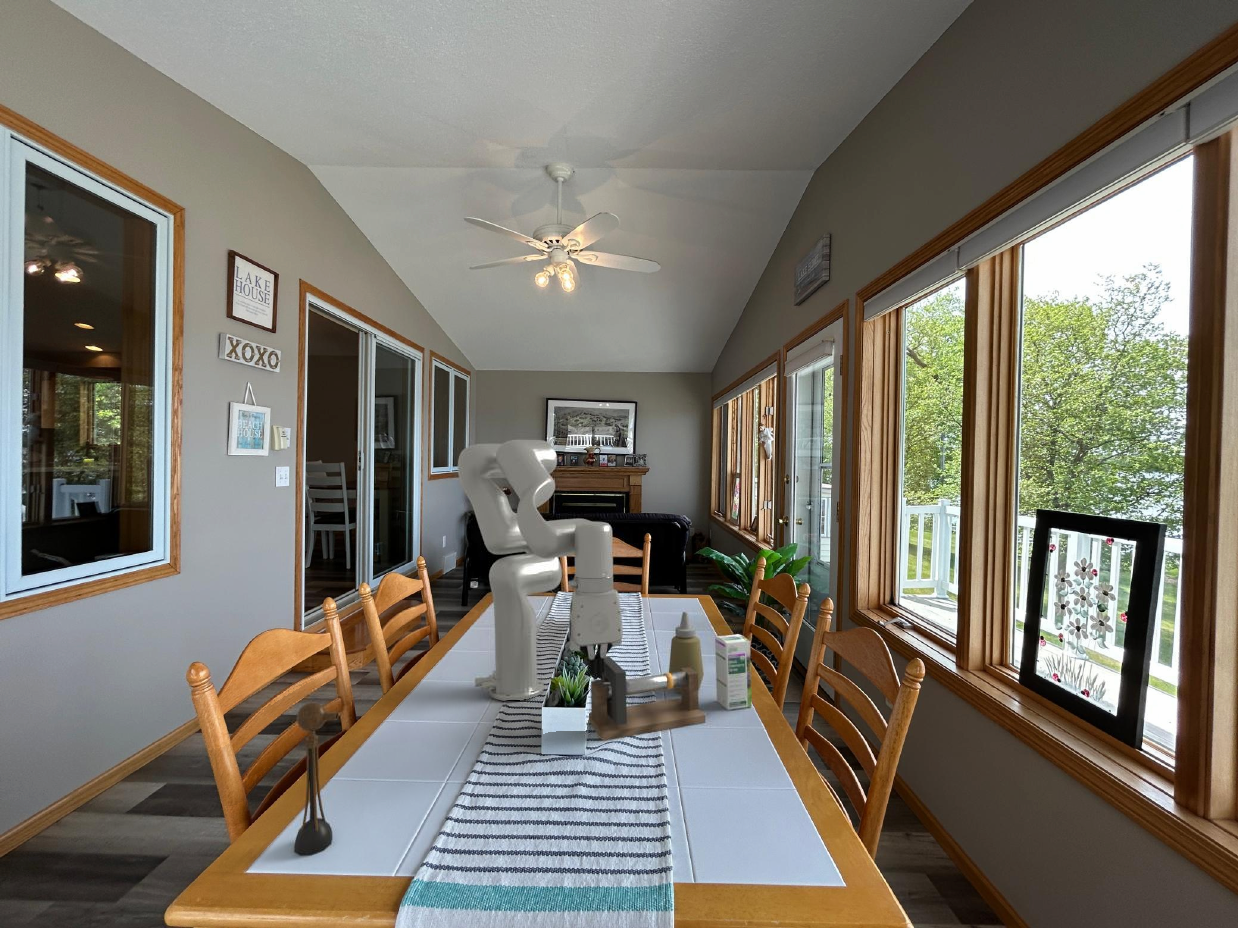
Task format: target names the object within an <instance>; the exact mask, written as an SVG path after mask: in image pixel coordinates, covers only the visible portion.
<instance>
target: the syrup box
mask: <svg viewBox="0 0 1238 928" xmlns="http://www.w3.org/2000/svg"><path fill="white" fill-rule="evenodd" d="M714 645H715V646H714V647H715V649H714V650H715V683H716V686H715V687H716V701H717V702H718V703H719V704H720V705H721V706H722V707H723V708H725V709H726V710H727V711H731V710H736V709H745V708H751V707H752V681H751V679H752V677H751V674H752V673H751V672H752V671H751V669H752V668H751V642H750V640H749V639H748V638H746V636H744V635H742V634H739V633H737V634H729V635H718V636H715V637H714Z"/></svg>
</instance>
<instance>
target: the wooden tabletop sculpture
mask: <svg viewBox="0 0 1238 928" xmlns="http://www.w3.org/2000/svg"><path fill="white" fill-rule="evenodd" d="M338 718H339V712H338V711H331V712H330V711H329V712H328V711H327V710H326V709H325V707H324V706H323V704H321V703H318V701H317V702H316V701H313V702H307V703H305V704H304V705H302V706H301V707H300V708H299V710H298V711H297V713H296V722H297V724H298V726H299V728H301V729H302V730H303V731H308V736H307V737H306V738H305V741H306V742H305V743H306V745H305V746H306V787H305V788H306V793H305V804H304V814H303V819H302V820H303V821H302V825H301V827H300V828H299V829H298V831H297V834H296V837H295V841H294V848H293V849H294V853H296V854H297V855H298V856H303V857H304V856H312V855H315V854H318V853H320V852H321V853H322V852H324V850H326V849H327V848H328V847H330V846H331V845H332V843H333V831H332V830H333V829H332V827H331V825H330V823H328V821H327V820H326V817H325V814H324V809H323V803H322V798H321V797H322V796H321V789H320V788H321V787H320V776H319V775H320V774H319V773H320V768H319V766H320V765H319V735H317V734H316V730H319V729H321V728H322V727H323V725H324V724H326V723H325V722H326V721H337V720H338ZM317 800H318V806H319V812H320V816H321V817H318V810H317ZM308 808H309V809H308ZM308 810H309V820H307V815H308Z"/></svg>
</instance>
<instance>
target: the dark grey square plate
mask: <svg viewBox="0 0 1238 928" xmlns="http://www.w3.org/2000/svg"><path fill="white" fill-rule="evenodd" d="M626 679H627V672H626V671H625V670H624V669H623V668H622V667H621V666H620V665H619V664H618V663H617V662H616V661H614V659H613V658H612V657H611V656H606V657H605V658H604V672H603V673H602V679H600V680H601V681H602V682H603V683H606V682H610V683H611V693H612V698H607V714H608V715H609V716H610V717H611V719H612V720H613V721H614V722H615V724H616V725H622V724H627V710H626V706H627V695H626Z"/></svg>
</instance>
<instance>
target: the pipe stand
mask: <svg viewBox="0 0 1238 928" xmlns="http://www.w3.org/2000/svg"><path fill="white" fill-rule="evenodd" d="M678 687H681V693H680V694H681V695H680V697H674V698H670V699H664V700H659V701H658V700H656V701H652V702H650V701H649V702H644V703H639V704H632V705H626V710H627V724H622V725H616V724H615V722H614V721H613V720H612V719H611V717H610V716H609V715H608V714H607V698H612V693H611V683H610V682H606V683H603V682H602V681H601V679H600V680H599V679H596V680H592V681H590V701H591V703H590V704H591V707H590V708H591V710H590V711H591V712H590V713H589V712H588V713H589V721H590V723H589V725H591V727H592V728H593V730H594V731H595V733H596V735H597V736H598V737H599V738H600V740H601V741H602V742H604V741H609V740H610V741H611V740H615V739H621V738H627V737H632V736H637V735H643V734H648V733H653V732H659V731H665V730H670V729H671V730H672V729H677V728H682V727H687V726H693V725H698V724H703V723H704V724H705V723H706V714H705V713H704V712H702V711H701V710H700V709H699V691H698V673H697V672H696V671H694V670H693V669H691V668H690V667H687V668H681V672H674V673H669V672H665V673H661V674H654V675H648V676H641V677H635V678H628V679H627V678H626V696H631V695H638V694H643V693H645V694H646V693H650V692H651V693H652V692H657V691H663V690H664V691H665V690H666V691H668V690H672V689H674V688H678ZM589 721H588V722H589Z"/></svg>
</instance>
